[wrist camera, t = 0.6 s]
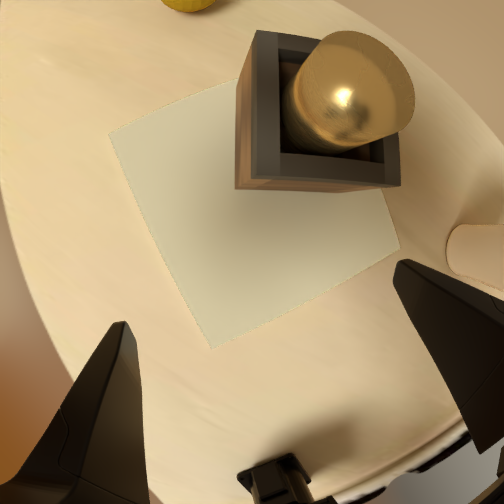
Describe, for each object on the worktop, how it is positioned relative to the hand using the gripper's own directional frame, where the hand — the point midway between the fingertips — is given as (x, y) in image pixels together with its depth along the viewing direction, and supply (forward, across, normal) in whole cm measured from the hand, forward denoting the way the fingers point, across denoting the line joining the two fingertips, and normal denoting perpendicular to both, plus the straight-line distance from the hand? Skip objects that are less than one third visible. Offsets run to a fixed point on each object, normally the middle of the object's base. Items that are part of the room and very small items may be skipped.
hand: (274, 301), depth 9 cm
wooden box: (+15, -6, -1) cm, 16 cm away
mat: (+14, -4, +2) cm, 14 cm away
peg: (+12, -6, -2) cm, 14 cm away
